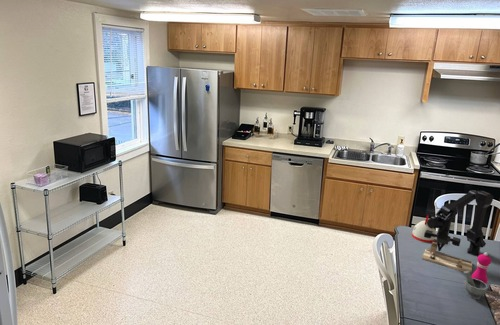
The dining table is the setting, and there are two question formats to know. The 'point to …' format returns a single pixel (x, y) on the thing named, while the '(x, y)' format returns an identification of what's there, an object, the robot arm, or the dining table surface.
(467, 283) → the mortar and pestle
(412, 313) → the dining table surface
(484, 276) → the pepper mill
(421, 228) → the white dome
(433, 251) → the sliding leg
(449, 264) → the gauge board
